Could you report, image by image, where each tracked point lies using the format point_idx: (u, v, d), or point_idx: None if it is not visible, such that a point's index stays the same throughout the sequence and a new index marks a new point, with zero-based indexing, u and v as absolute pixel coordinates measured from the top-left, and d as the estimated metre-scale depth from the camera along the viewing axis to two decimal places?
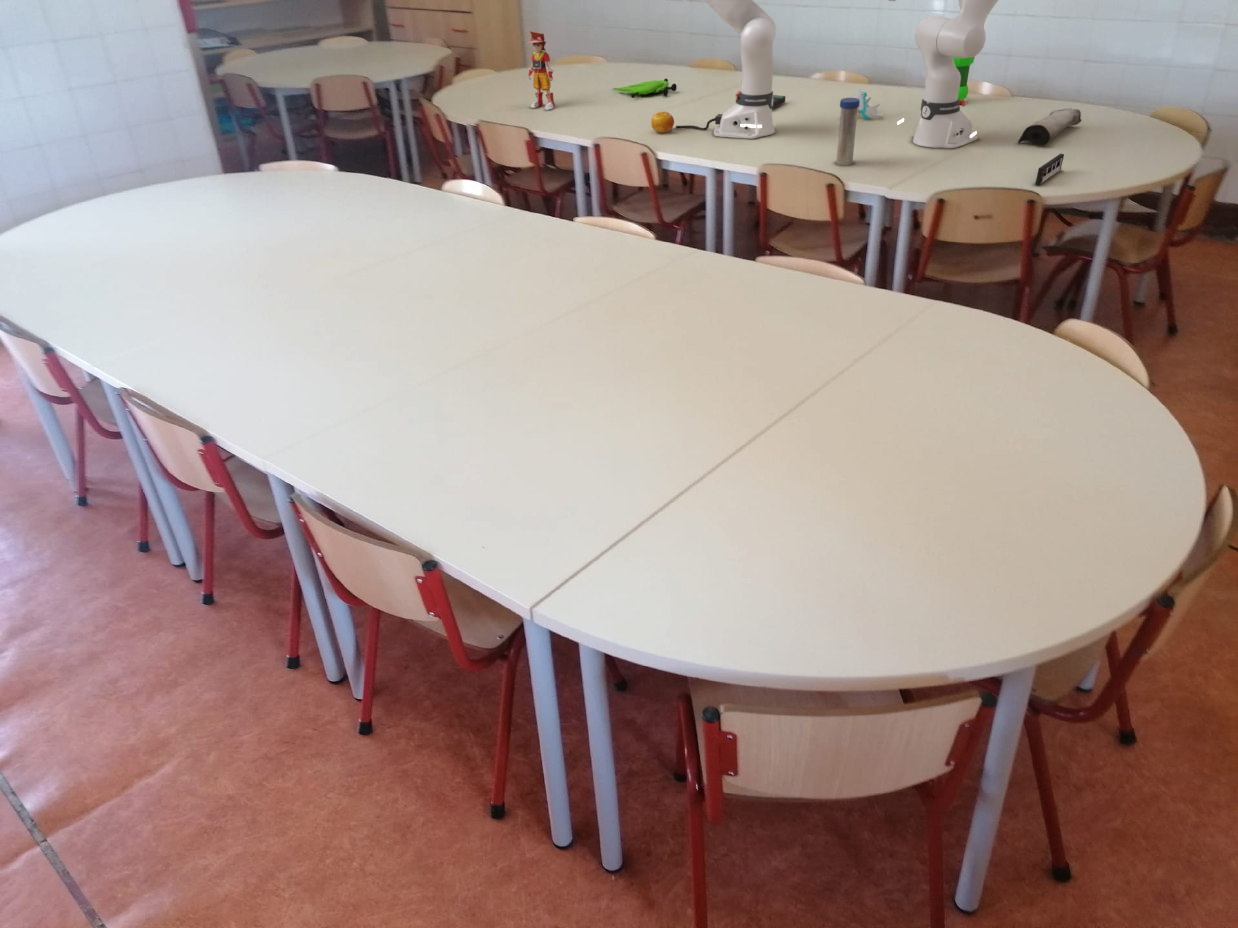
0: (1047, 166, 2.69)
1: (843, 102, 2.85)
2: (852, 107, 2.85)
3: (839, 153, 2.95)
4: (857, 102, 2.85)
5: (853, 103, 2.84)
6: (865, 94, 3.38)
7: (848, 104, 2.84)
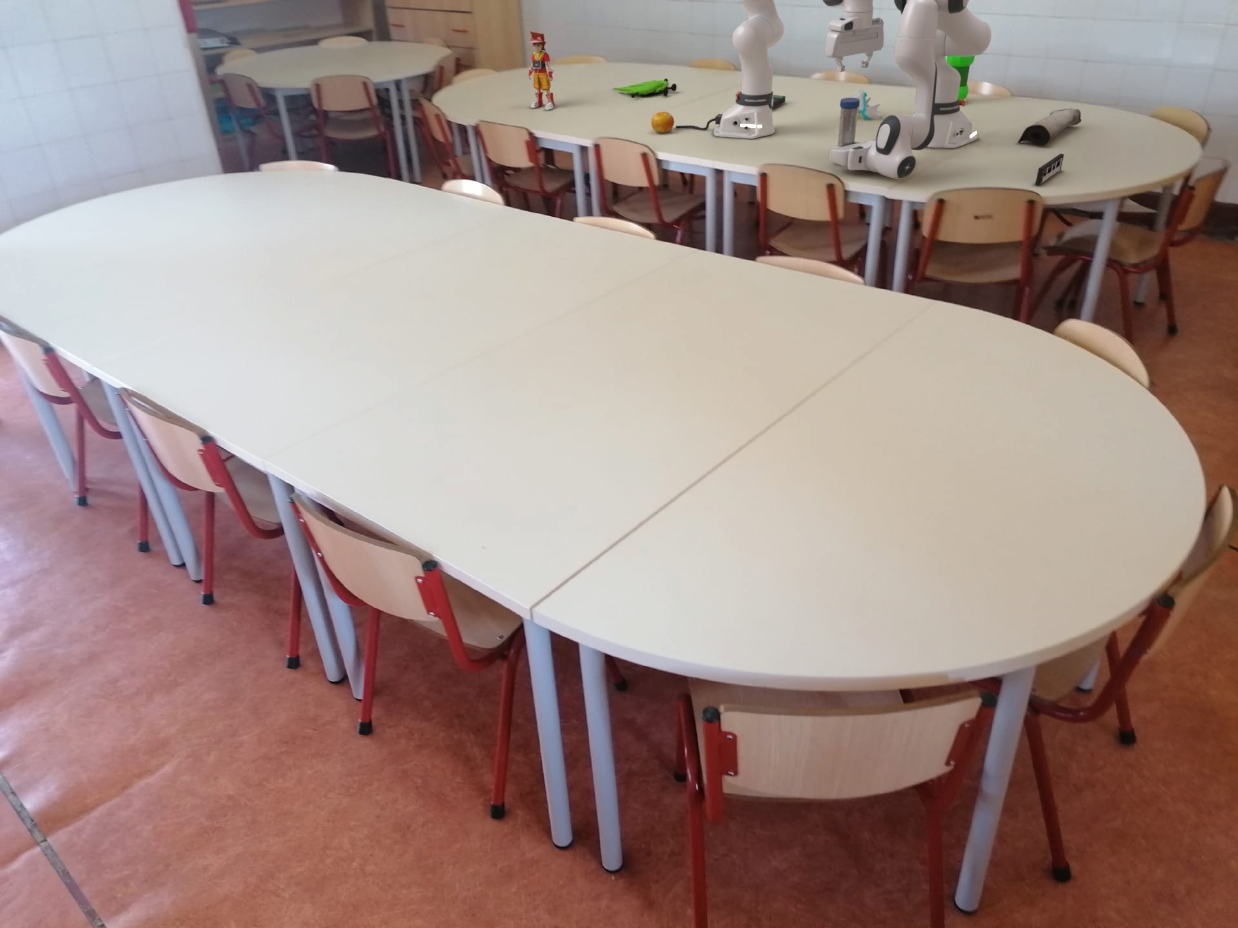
0: (1047, 166, 2.69)
1: (843, 102, 2.85)
2: (852, 107, 2.85)
3: None
4: (857, 102, 2.85)
5: (853, 103, 2.84)
6: (865, 94, 3.38)
7: (848, 104, 2.84)
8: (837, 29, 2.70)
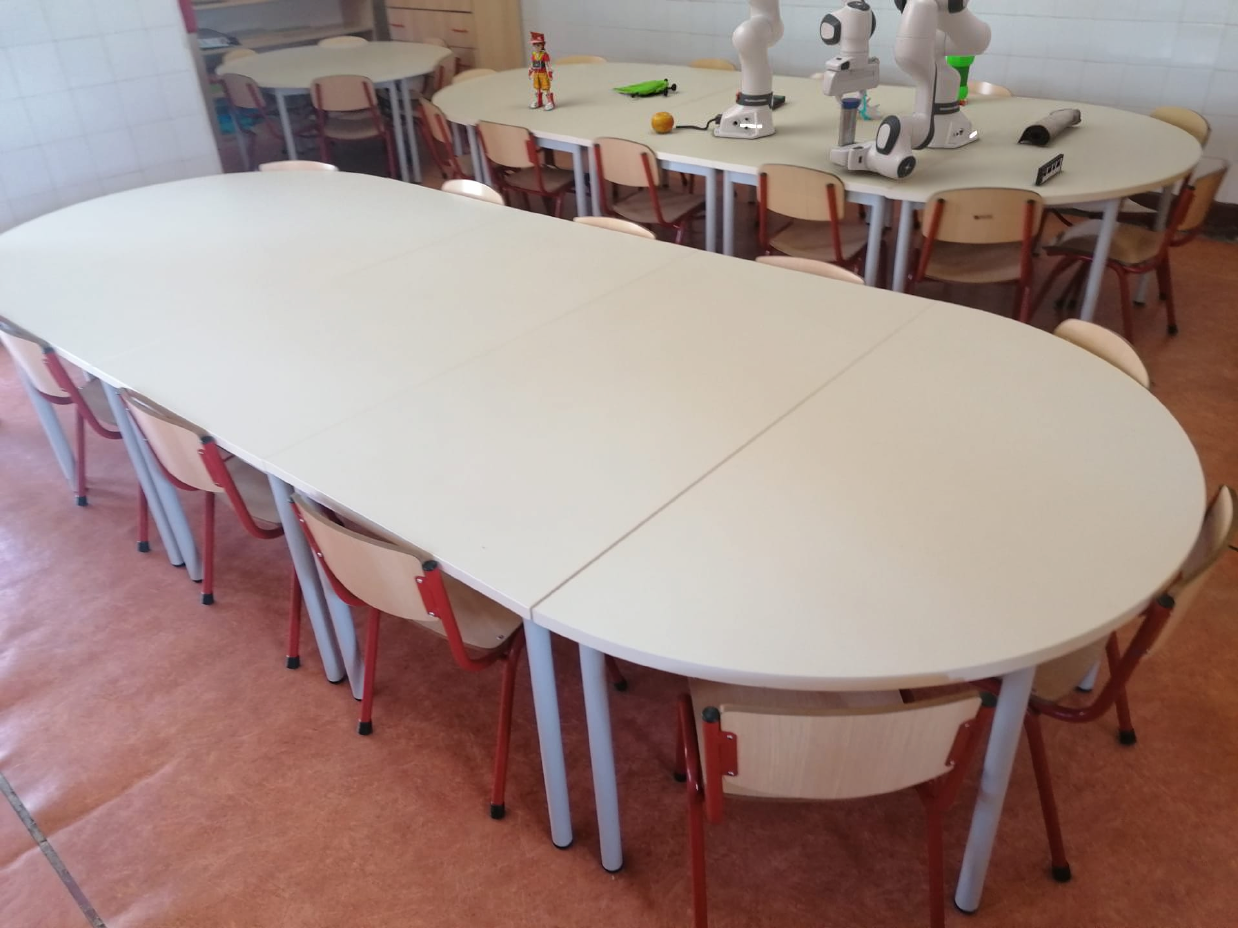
0: (1047, 166, 2.69)
1: None
2: (852, 107, 2.85)
3: None
4: (857, 102, 2.85)
5: (853, 103, 2.84)
6: (865, 94, 3.38)
7: (848, 104, 2.84)
8: (834, 69, 2.76)
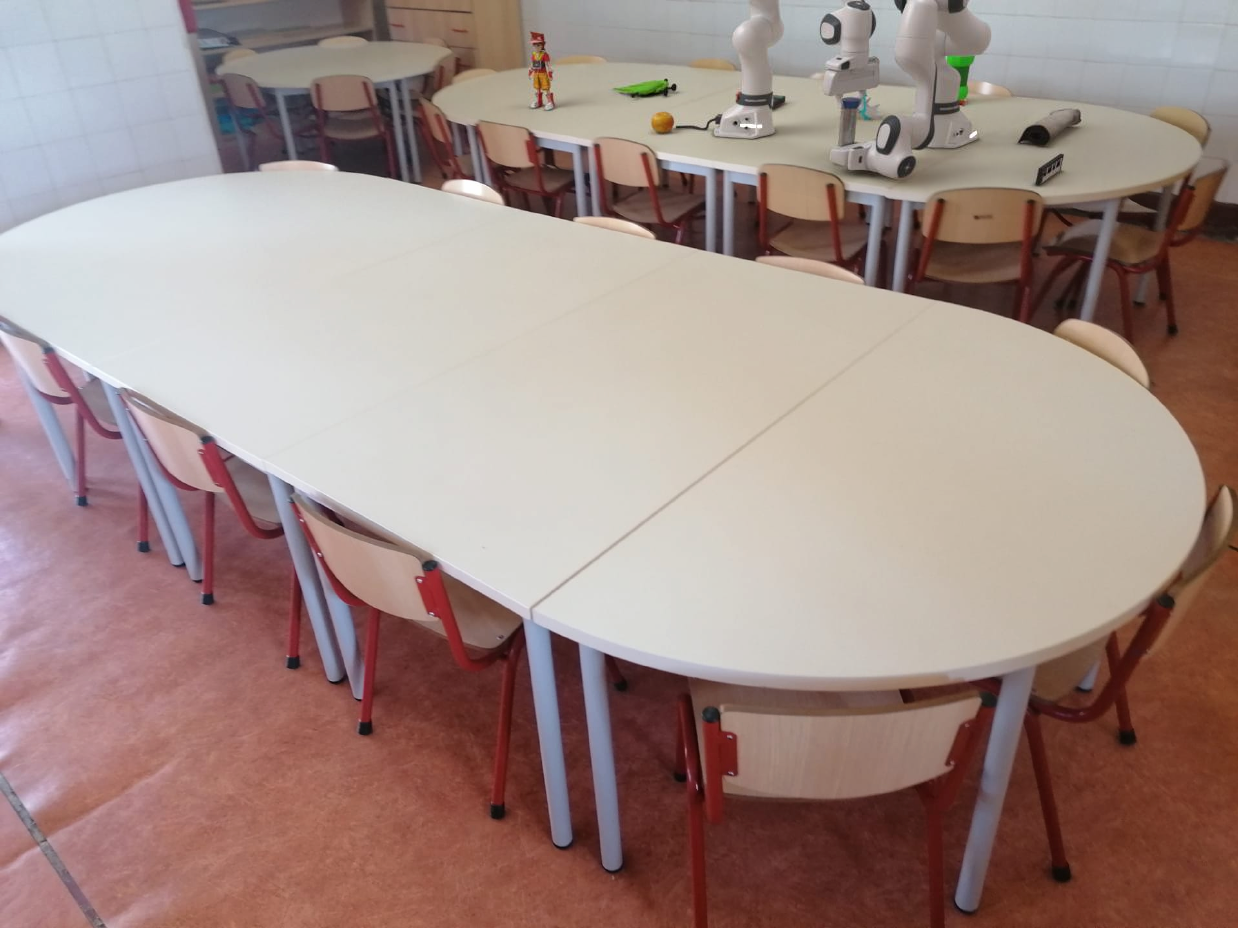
0: (1047, 166, 2.69)
1: (854, 102, 2.84)
2: (859, 104, 2.86)
3: None
4: None
5: None
6: (865, 94, 3.38)
7: (858, 102, 2.85)
8: (834, 68, 2.76)
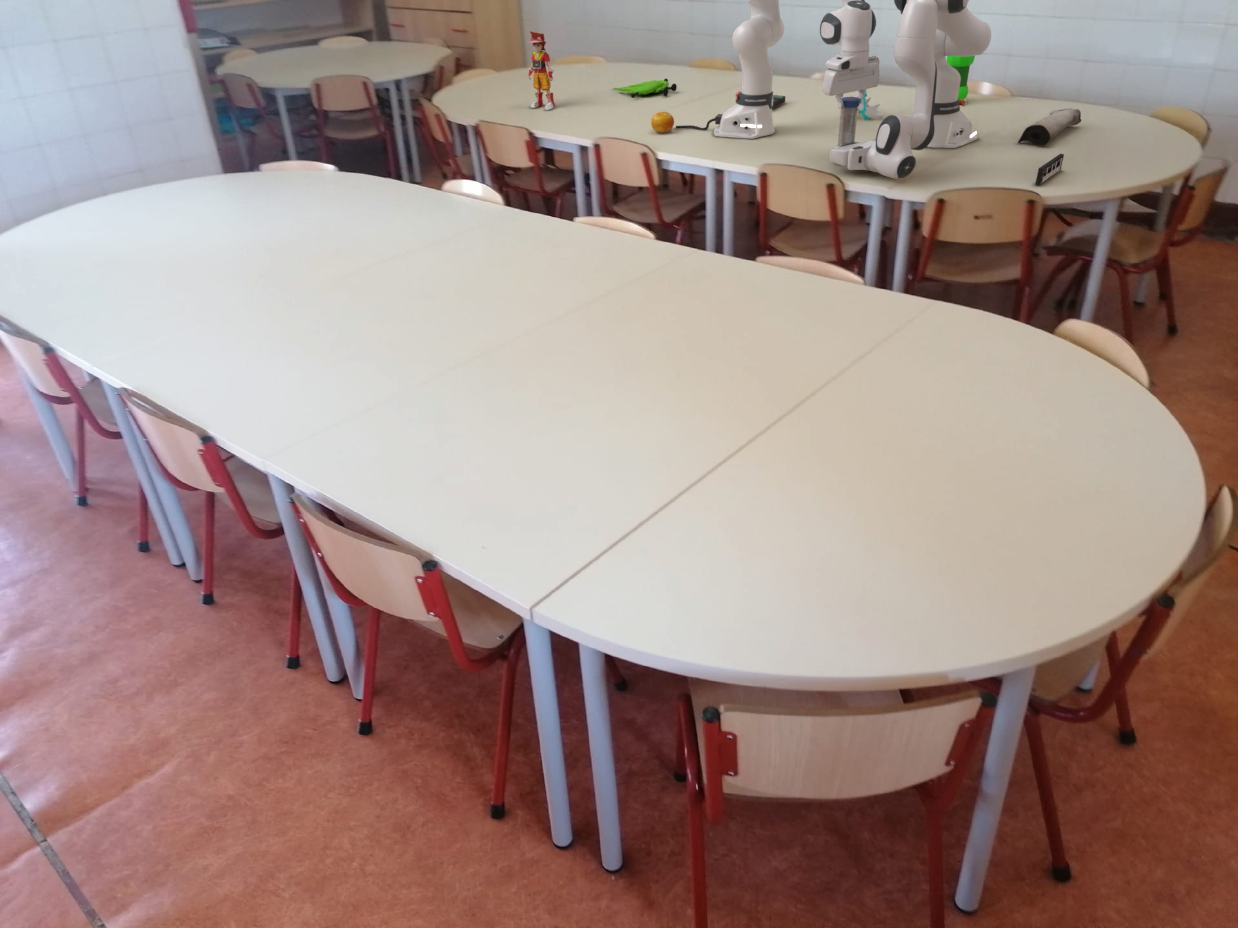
0: (1047, 166, 2.69)
1: None
2: None
3: None
4: None
5: None
6: (865, 94, 3.38)
7: None
8: (834, 68, 2.76)
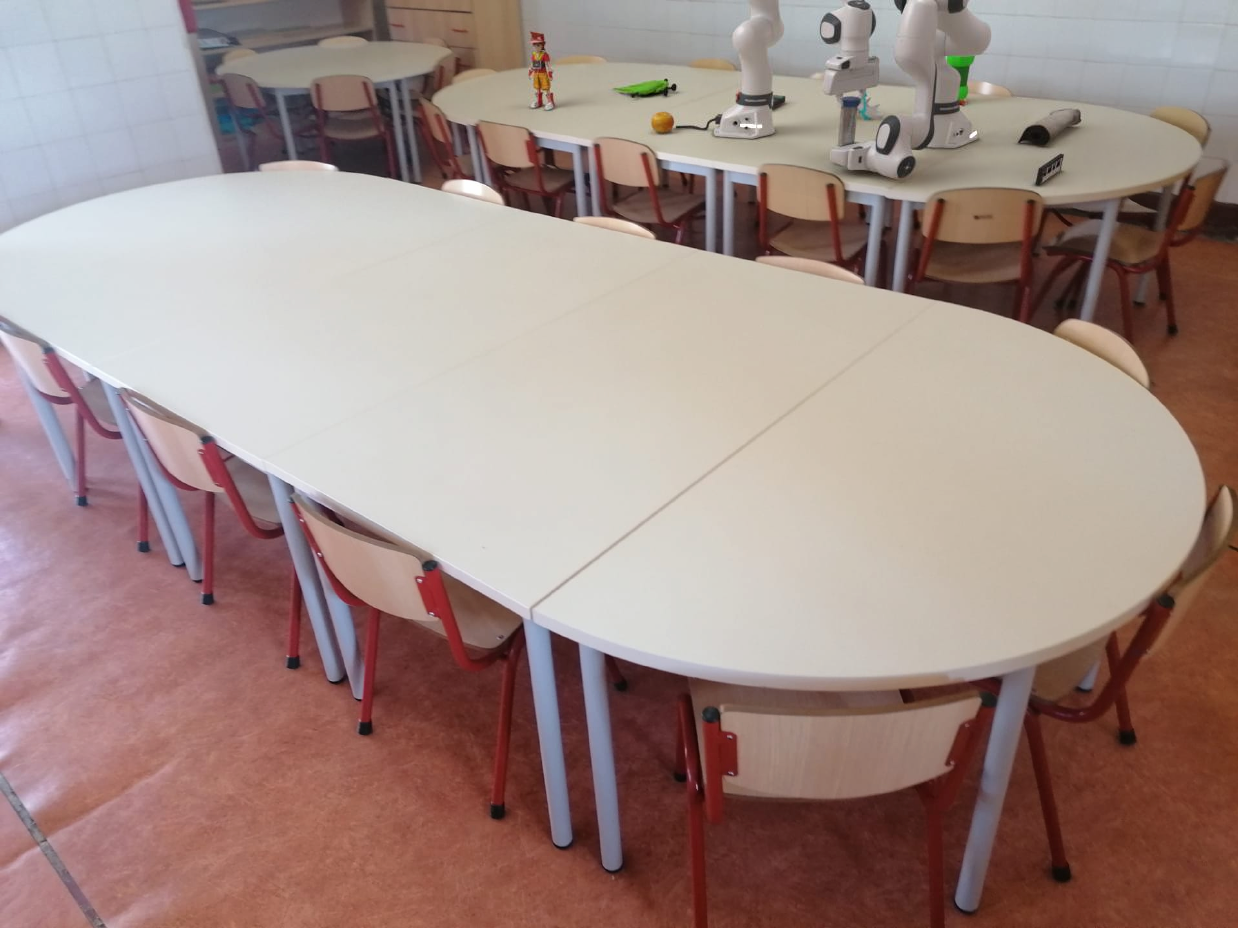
0: (1047, 166, 2.69)
1: None
2: None
3: None
4: None
5: None
6: (865, 94, 3.38)
7: None
8: (834, 68, 2.76)
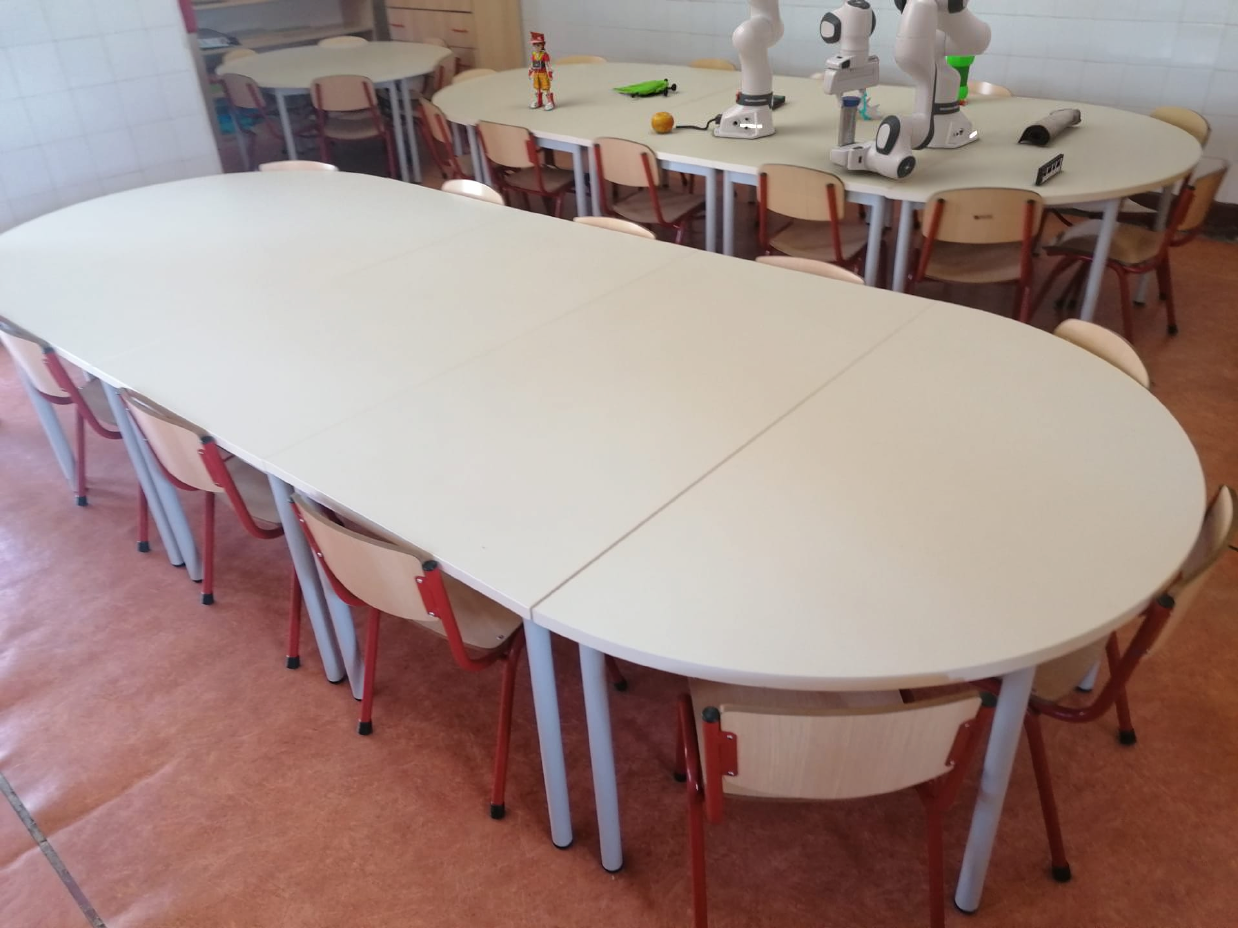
0: (1047, 166, 2.69)
1: None
2: None
3: None
4: (847, 101, 2.84)
5: None
6: (865, 94, 3.38)
7: None
8: (834, 67, 2.76)
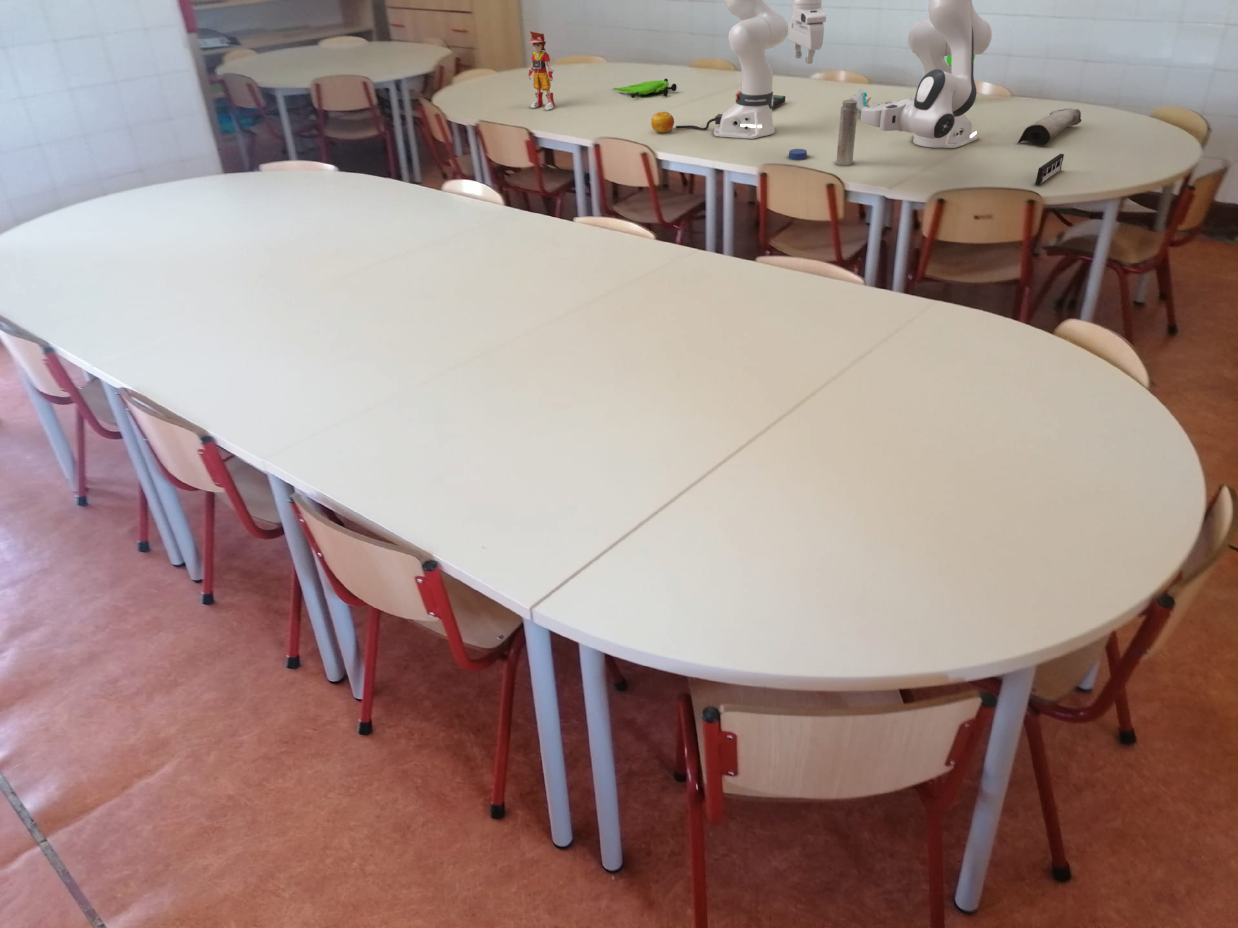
0: (1047, 166, 2.69)
1: (791, 153, 3.03)
2: (800, 158, 3.03)
3: (839, 153, 2.94)
4: (804, 153, 3.03)
5: (801, 154, 3.02)
6: (865, 94, 3.38)
7: (796, 155, 3.03)
8: (821, 20, 2.74)
